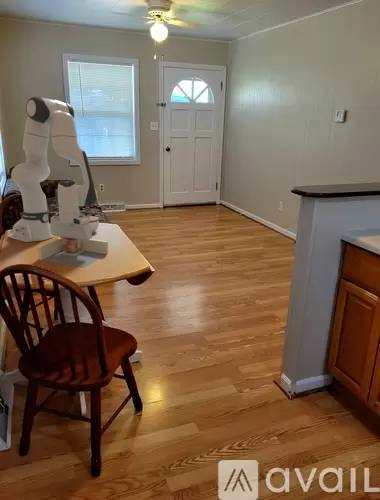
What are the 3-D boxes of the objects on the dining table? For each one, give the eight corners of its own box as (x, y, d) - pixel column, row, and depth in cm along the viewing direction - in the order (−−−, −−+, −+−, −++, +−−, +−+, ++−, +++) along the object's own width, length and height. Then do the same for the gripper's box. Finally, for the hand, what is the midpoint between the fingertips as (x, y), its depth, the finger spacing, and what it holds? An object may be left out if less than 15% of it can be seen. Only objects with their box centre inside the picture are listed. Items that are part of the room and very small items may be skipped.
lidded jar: (103, 231, 213) (102, 215, 210) (86, 235, 206) (85, 218, 202) (92, 228, 220) (91, 212, 217) (75, 231, 212) (74, 215, 209)
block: (63, 250, 174) (62, 238, 172) (70, 247, 179) (69, 235, 177) (73, 252, 172) (72, 240, 171) (80, 248, 177) (79, 237, 175)
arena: (39, 262, 167) (37, 246, 164) (67, 249, 184) (65, 235, 182) (84, 270, 160) (83, 254, 157) (108, 255, 177) (108, 241, 175)
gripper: (45, 216, 171) (48, 245, 176) (84, 221, 165) (86, 251, 169) (55, 213, 177) (57, 241, 181) (93, 218, 170) (94, 247, 175)
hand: (71, 246), depth 175 cm, fingers closed on block, 5 cm apart
